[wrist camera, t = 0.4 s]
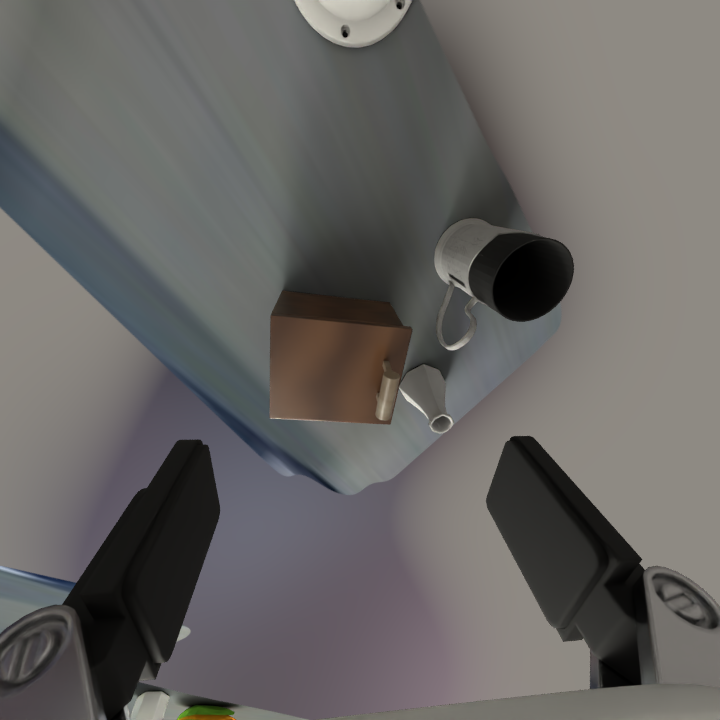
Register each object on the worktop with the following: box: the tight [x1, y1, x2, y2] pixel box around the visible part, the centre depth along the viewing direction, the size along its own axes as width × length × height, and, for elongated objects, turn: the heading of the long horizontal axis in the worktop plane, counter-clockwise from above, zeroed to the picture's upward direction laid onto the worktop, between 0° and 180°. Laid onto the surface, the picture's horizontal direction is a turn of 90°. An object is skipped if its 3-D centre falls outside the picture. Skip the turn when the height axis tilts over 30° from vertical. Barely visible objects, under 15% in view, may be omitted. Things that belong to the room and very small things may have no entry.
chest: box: [272, 291, 403, 326], centre depth 41 cm, size 15×14×9 cm
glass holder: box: [434, 218, 574, 350], centre depth 35 cm, size 9×14×15 cm, turn 142°
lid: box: [270, 313, 412, 424], centre depth 35 cm, size 16×14×5 cm
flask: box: [399, 364, 454, 434], centre depth 46 cm, size 7×7×10 cm
